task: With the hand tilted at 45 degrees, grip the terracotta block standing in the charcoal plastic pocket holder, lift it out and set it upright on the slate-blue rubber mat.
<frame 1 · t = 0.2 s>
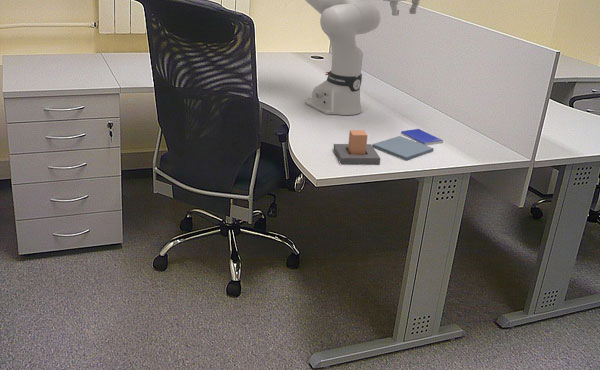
hand: (404, 14, 214), 39 cm above the table, tool pointing down, fingers open, 8 cm apart
terracotta block: (356, 157, 201), resting in pocket holder
slate mat: (402, 149, 210), on the table
hard drive: (421, 140, 221), on the table
pocket holder: (356, 156, 201), on the table
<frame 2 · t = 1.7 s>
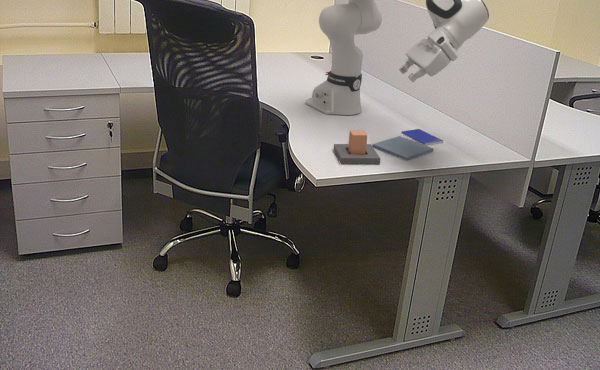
hand: (405, 75, 193), 26 cm above the table, tool tilted 45°, fingers open, 8 cm apart
nothing on the table moved.
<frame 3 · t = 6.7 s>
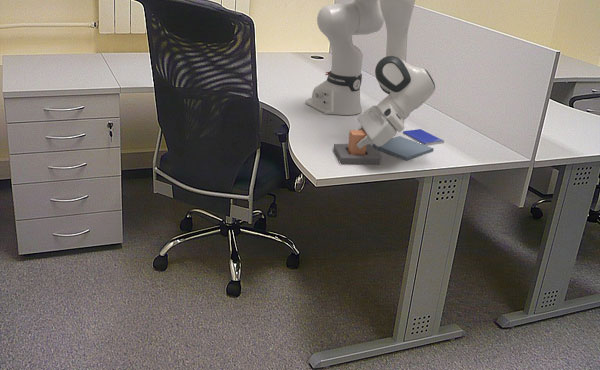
hand: (355, 143, 199), 5 cm above the table, tool tilted 45°, fingers closed on terracotta block, 4 cm apart
terracotta block: (356, 157, 201), resting in pocket holder, touching gripper
everything else where it was.
when the fingers open (7 cm above the table, at t = 12.9 s): terracotta block drops 1 cm, resting on slate mat.
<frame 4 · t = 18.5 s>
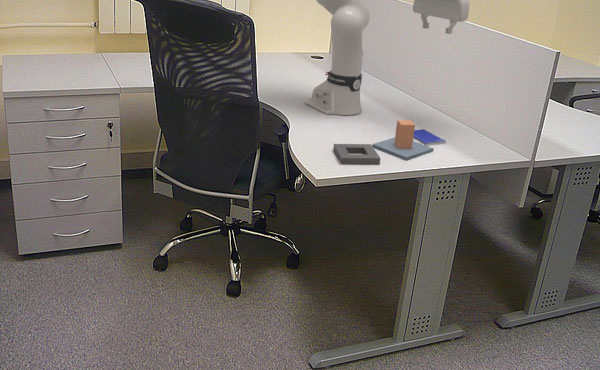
hand: (436, 30, 218), 34 cm above the table, tool pointing down, fingers open, 8 cm apart
terracotta block: (402, 146, 210), point 1 cm above the table, touching slate mat
at the end: terracotta block inside the target area on the slate mat (0.1 cm from its centre), point 1.0 cm above the slate mat's base; terracotta block tilted 0°; the gripper is holding nothing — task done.
